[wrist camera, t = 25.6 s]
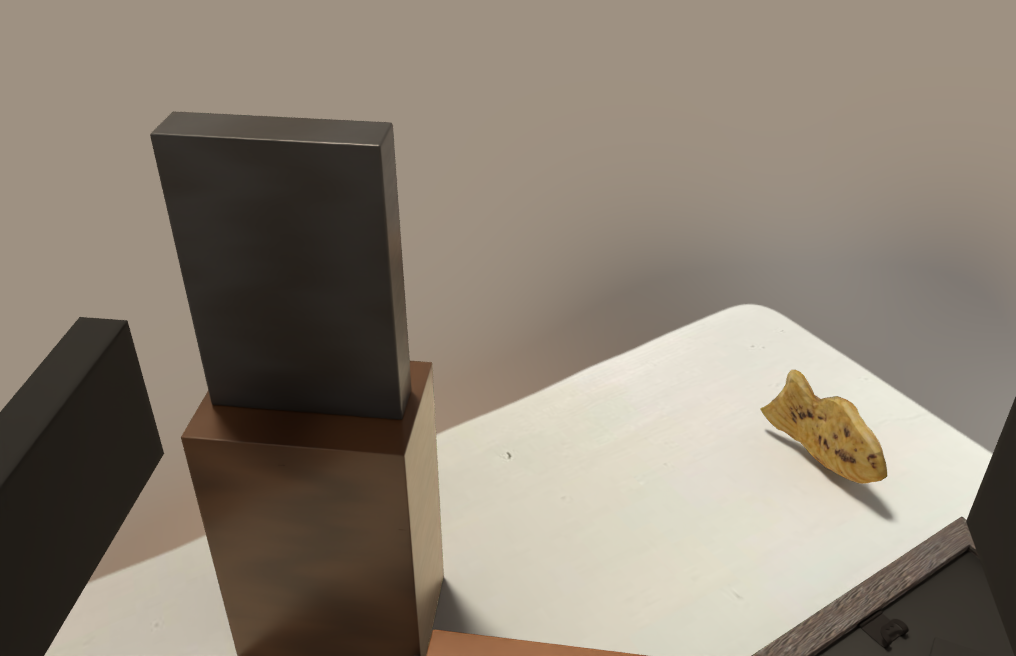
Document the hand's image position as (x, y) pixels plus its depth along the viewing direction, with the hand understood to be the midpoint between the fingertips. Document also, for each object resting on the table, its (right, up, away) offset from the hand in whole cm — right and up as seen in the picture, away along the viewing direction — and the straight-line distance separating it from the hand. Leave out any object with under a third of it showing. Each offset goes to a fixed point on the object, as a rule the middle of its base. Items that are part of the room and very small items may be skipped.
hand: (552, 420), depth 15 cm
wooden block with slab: (-9, -13, +34) cm, 37 cm away
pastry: (+18, -7, +43) cm, 47 cm away
